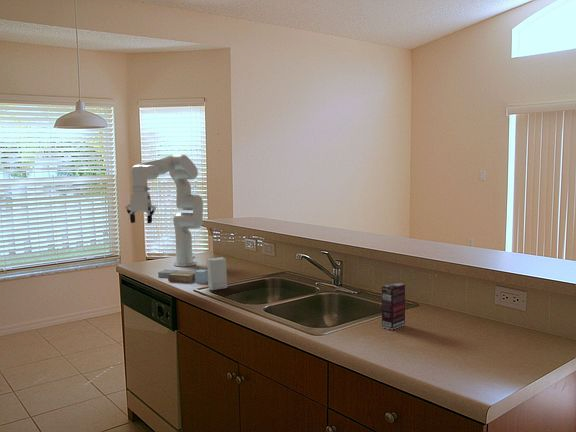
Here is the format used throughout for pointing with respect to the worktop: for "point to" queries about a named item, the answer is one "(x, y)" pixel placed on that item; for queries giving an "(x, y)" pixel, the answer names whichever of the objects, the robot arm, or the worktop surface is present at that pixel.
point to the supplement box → (393, 305)
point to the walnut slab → (182, 276)
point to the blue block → (201, 276)
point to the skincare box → (217, 273)
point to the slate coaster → (166, 273)
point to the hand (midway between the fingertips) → (141, 222)
